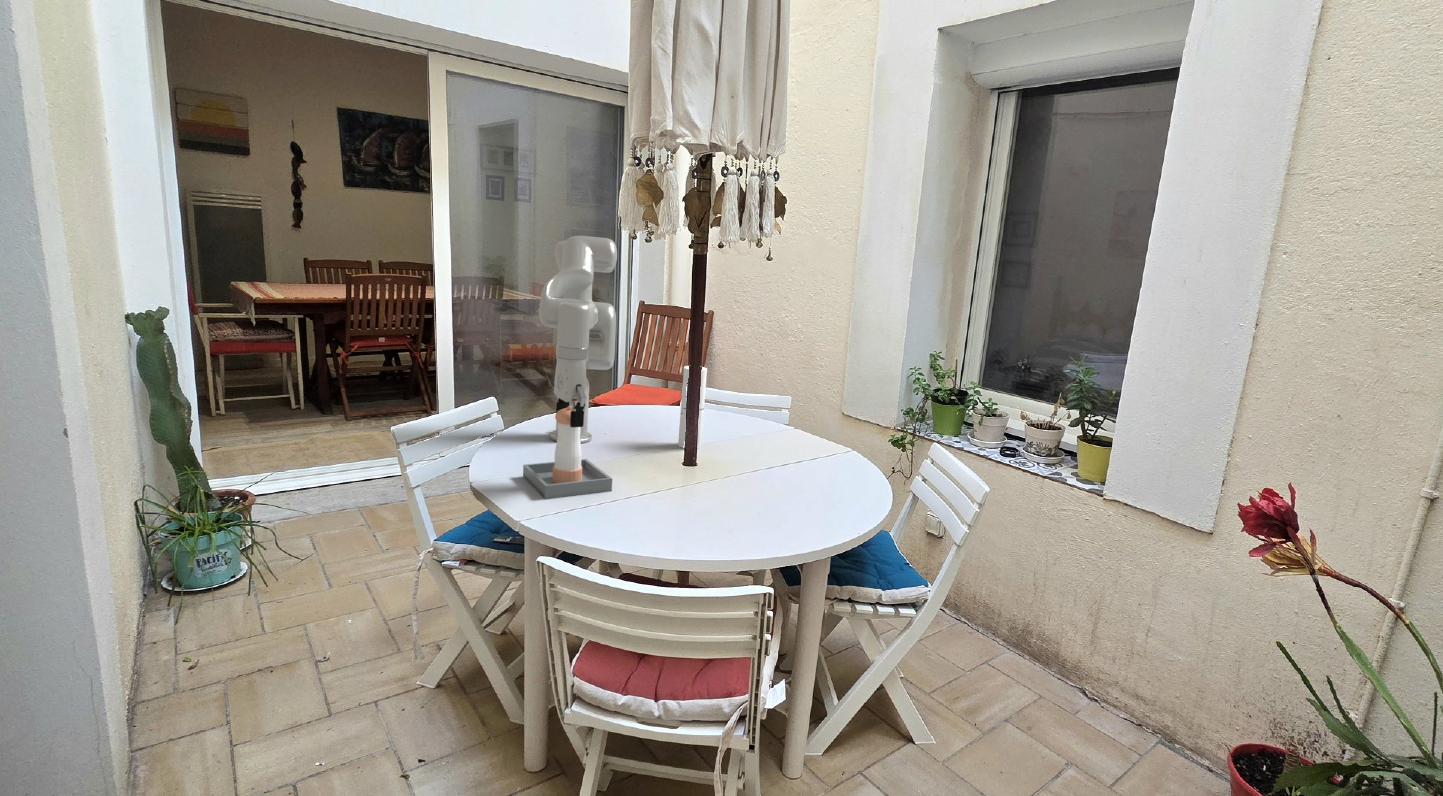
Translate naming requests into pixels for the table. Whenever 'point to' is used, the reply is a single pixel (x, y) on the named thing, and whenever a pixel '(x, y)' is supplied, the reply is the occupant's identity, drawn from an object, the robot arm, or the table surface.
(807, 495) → the table surface
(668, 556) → the table surface
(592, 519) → the table surface
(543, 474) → the tray
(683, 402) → the cylindrical container
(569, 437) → the pepper shaker
